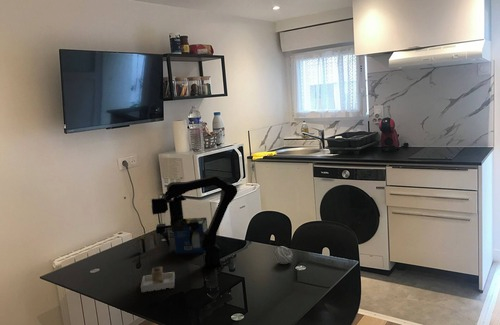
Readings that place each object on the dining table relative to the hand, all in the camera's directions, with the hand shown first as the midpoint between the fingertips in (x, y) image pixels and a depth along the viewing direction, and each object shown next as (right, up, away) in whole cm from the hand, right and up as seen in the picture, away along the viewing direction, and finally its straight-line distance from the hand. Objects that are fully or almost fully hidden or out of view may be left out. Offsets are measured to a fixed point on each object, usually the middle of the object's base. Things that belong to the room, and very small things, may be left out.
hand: (179, 245), depth 190 cm
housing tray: (-7, -14, -11) cm, 20 cm away
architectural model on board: (-22, -10, +35) cm, 43 cm away
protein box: (+2, -8, +29) cm, 30 cm away
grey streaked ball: (+47, -8, 0) cm, 47 cm away
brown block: (-7, -14, -12) cm, 19 cm away
